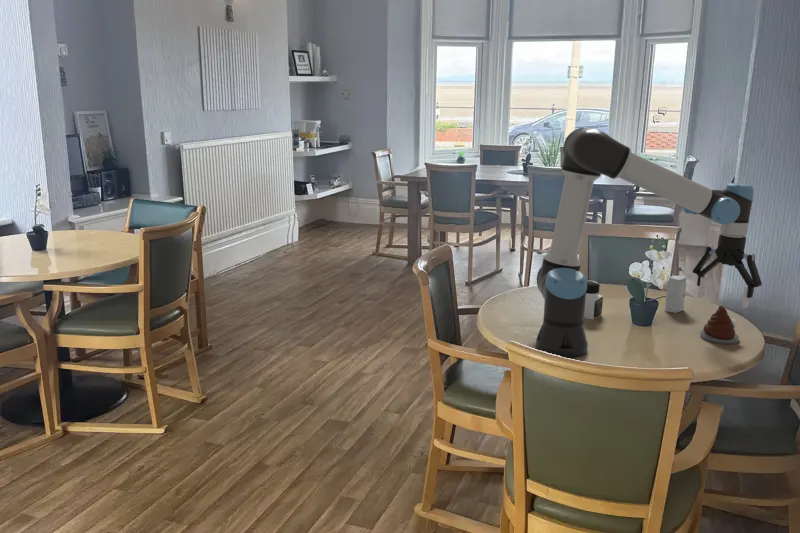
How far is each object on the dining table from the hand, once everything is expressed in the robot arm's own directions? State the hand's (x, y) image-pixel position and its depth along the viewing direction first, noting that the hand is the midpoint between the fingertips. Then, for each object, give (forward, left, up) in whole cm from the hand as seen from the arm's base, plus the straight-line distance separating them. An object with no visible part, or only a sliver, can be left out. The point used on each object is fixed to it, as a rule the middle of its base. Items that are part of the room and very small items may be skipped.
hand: (722, 301), depth 217 cm
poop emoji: (0, 0, -11) cm, 11 cm away
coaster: (0, 0, -12) cm, 12 cm away
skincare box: (+16, +23, -12) cm, 31 cm away
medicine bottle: (-13, +39, -12) cm, 43 cm away
